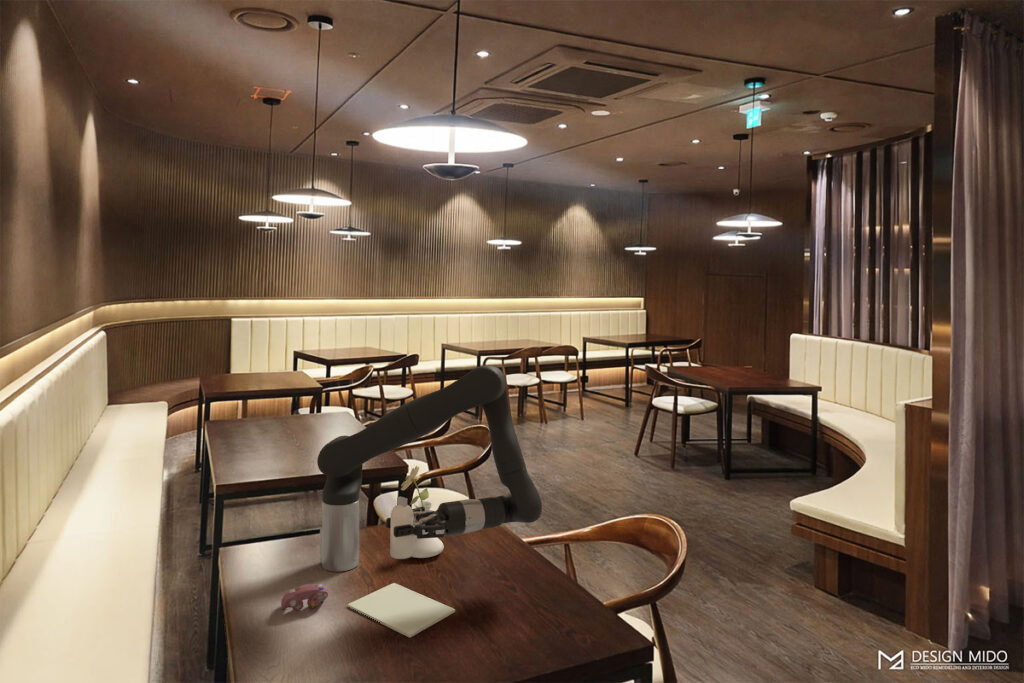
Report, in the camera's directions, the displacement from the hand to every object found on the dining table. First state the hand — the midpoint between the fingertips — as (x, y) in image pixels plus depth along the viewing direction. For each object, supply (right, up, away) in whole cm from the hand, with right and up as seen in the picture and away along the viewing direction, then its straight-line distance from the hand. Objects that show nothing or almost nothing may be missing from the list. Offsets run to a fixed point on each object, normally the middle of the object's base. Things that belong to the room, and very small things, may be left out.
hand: (390, 527), depth 144 cm
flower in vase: (+2, -17, +33) cm, 37 cm away
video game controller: (-20, -19, +3) cm, 28 cm away
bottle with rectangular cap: (+2, -6, +2) cm, 7 cm away
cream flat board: (+2, -19, +3) cm, 20 cm away
